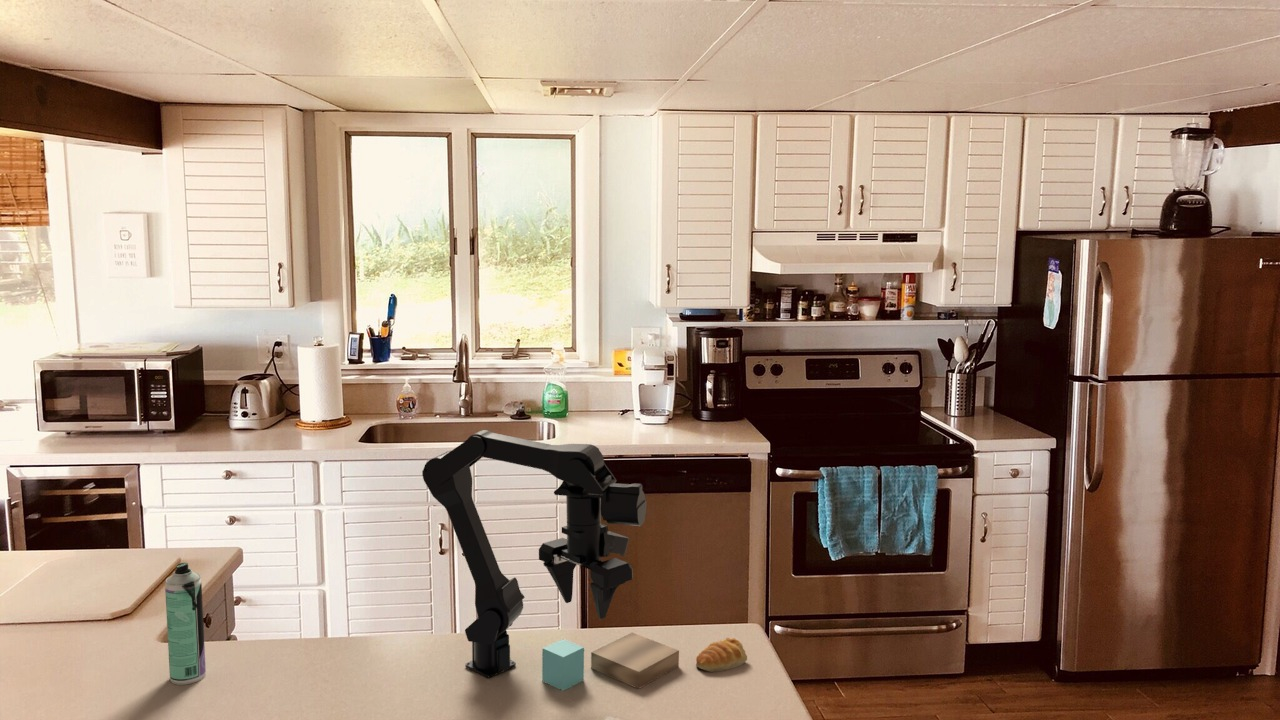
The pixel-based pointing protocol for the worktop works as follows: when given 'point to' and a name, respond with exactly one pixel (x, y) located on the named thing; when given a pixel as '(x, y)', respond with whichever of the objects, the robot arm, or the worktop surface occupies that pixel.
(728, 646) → the pastry
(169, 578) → the spray can
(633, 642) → the oak base
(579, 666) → the teal block
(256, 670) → the worktop surface
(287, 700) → the worktop surface
